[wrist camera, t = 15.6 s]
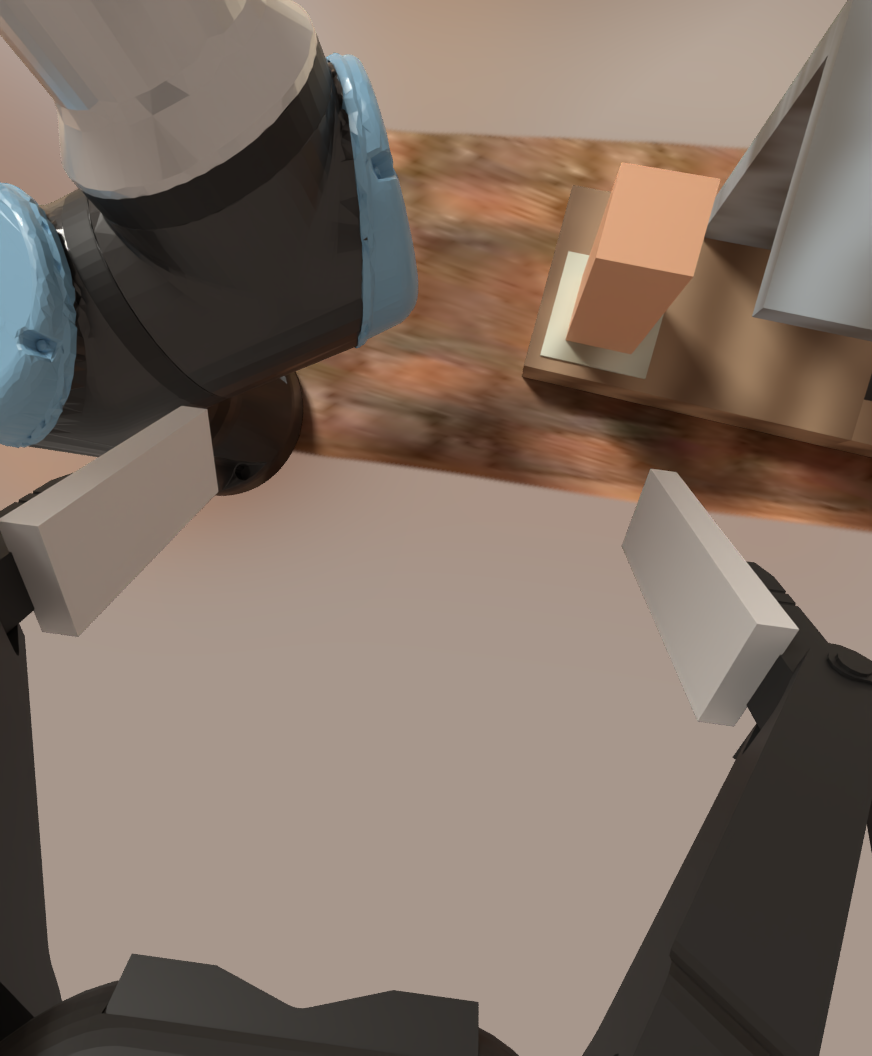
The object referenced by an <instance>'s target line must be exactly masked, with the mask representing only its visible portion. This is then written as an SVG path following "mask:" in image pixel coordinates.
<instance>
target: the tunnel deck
mask: <svg viewBox="0 0 872 1056" xmlns="http://www.w3.org/2000/svg"><path fill="white" fill-rule="evenodd" d="M610 194H611V192H609V191H603V190H598V189H592V188H587V187H581V186H576V185H573V186H572V190H571V194H570V197H569V201H568V205H567V208H566V212H565V216H564V219H563V223H562V227H561V231H560V234H559V238H558V242H557V245H556V249H555V253H554V256H553V260H552V264H551V267H550V271H549V275H548V278H547V282H546V286H545V289H544V293H543V297H542V301H541V304H540V308H539V312H538V315H537V319H536V323H535V326H534V330H533V334H532V337H531V341H530V345H529V348H528V352H527V356H526V360H525V363H524V368H523V374H522V377H526V378H530V379H535V380H539V381H543V382H548V383H552V384H556V385H561V386H565V387H569V388H574V389H578V390H582V391H586V392H591V393H595V394H599V395H604V396H608V397H612V398H617V399H621V400H625V401H630V402H634V403H638V404H643V405H647V406H651V407H656V408H660V409H664V410H669V411H673V412H677V413H682V414H686V415H690V416H694V417H699V418H703V419H707V420H712V421H716V422H720V423H725V424H729V425H733V426H738V427H742V428H746V429H751V430H755V431H759V432H764V433H768V434H772V435H777V436H781V437H785V438H790V439H794V440H798V441H802V442H807V443H811V444H815V445H820V446H824V447H828V448H833V449H837V450H841V451H846V452H850V453H854V454H859V455H863V456H867V457H872V0H847V2H846V4H845V5H844V7H843V8H842V9H841V11H840V13H839V14H838V15H837V17H836V18H835V20H834V22H833V23H832V24H831V26H830V27H829V29H828V31H827V32H826V33H825V35H824V36H823V38H822V39H821V41H820V42H819V44H818V45H817V47H816V48H815V50H814V51H813V53H812V54H811V56H810V57H809V59H808V60H807V62H806V63H805V65H804V66H803V68H802V69H801V71H800V72H799V74H798V75H797V77H796V78H795V80H794V81H793V83H792V84H791V85H790V87H789V89H788V90H787V92H786V93H785V94H784V96H783V97H782V99H781V101H780V102H779V104H778V105H777V106H776V108H775V109H774V111H773V112H772V114H771V115H770V117H769V118H768V120H767V121H766V123H765V124H764V126H763V127H762V129H761V130H760V132H759V133H758V135H757V136H756V138H755V139H754V141H753V142H752V144H751V145H750V147H749V148H748V150H747V151H746V153H745V154H744V156H743V157H742V159H741V160H740V162H739V163H738V165H737V166H736V167H735V169H734V170H733V172H732V173H731V175H730V176H729V178H728V179H727V181H726V182H725V184H724V185H723V187H722V188H721V190H720V191H719V193H718V194H717V196H716V197H715V200H714V204H713V208H712V211H711V215H710V218H709V222H708V226H707V229H706V233H705V236H704V240H703V244H702V247H701V251H700V254H699V258H698V261H697V265H696V269H695V272H694V276H693V278H692V279H691V280H690V281H689V283H688V284H687V285H686V286H685V288H684V289H683V290H682V291H681V293H680V294H679V295H678V296H677V298H676V299H675V300H674V301H673V303H672V304H671V305H670V306H669V308H668V309H667V310H666V311H665V313H664V314H663V315H662V317H661V318H660V319H659V320H658V322H657V323H656V324H655V325H654V327H653V328H652V329H651V330H650V332H649V333H648V334H647V335H646V337H645V338H644V339H643V340H642V342H641V343H640V344H639V345H638V347H637V348H636V349H635V350H634V352H633V353H632V354H627V353H622V352H618V351H613V350H608V349H604V348H599V347H594V346H590V345H585V344H580V343H576V342H571V341H566V340H565V339H566V335H567V332H568V328H569V324H570V320H571V317H572V313H573V309H574V306H575V302H576V298H577V294H578V291H579V287H580V283H581V280H582V276H583V273H584V270H585V267H586V264H587V261H588V258H589V255H590V252H591V249H592V247H593V244H594V241H595V238H596V235H597V232H598V229H599V226H600V223H601V220H602V217H603V214H604V212H605V209H606V206H607V203H608V200H609V197H610Z"/></svg>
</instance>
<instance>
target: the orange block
mask: <svg viewBox="0 0 872 1056" xmlns="http://www.w3.org/2000/svg"><path fill="white" fill-rule="evenodd" d="M719 182H720V179H717V178H711V177H706V176H700V175H694V174H688V173H682V172H676V171H671V170H665V169H659V168H653V167H647V166H641V165H635V164H630V163H624V162H621V165H620V168H619V171H618V174H617V177H616V179H615V182H614V185H613V188H612V191H611V194H610V197H609V200H608V203H607V206H606V209H605V212H604V214H603V217H602V220H601V223H600V226H599V229H598V232H597V235H596V238H595V241H594V244H593V247H592V249H591V252H590V255H589V258H588V261H587V264H586V267H585V270H584V273H583V276H582V280H581V283H580V287H579V291H578V294H577V298H576V302H575V306H574V309H573V313H572V317H571V320H570V324H569V328H568V332H567V335H566V339H565V340H566V341H571V342H576V343H580V344H585V345H590V346H594V347H599V348H604V349H608V350H613V351H618V352H622V353H627V354H632V353H633V352H634V350H635V349H636V348H637V347H638V345H639V344H640V343H641V342H642V340H643V339H644V338H645V337H646V335H647V334H648V333H649V332H650V330H651V329H652V328H653V327H654V325H655V324H656V323H657V322H658V320H659V319H660V318H661V317H662V315H663V314H664V313H665V311H666V310H667V309H668V308H669V306H670V305H671V304H672V303H673V301H674V300H675V299H676V298H677V296H678V295H679V294H680V293H681V291H682V290H683V289H684V288H685V286H686V285H687V284H688V283H689V281H690V280H691V279H692V278H693V276H694V272H695V269H696V265H697V261H698V258H699V254H700V251H701V247H702V244H703V240H704V236H705V233H706V229H707V226H708V222H709V218H710V215H711V211H712V208H713V204H714V200H715V197H716V193H717V190H718V186H719Z"/></svg>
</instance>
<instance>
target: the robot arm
mask: <svg viewBox="0 0 872 1056" xmlns="http://www.w3.org/2000/svg"><path fill="white" fill-rule="evenodd" d="M0 35H1V37H2V38H3V39H4V40H5V41H6V43H7V44H8V45H9V46H10V48H11V49H12V50H13V51H14V52H15V54H16V55H17V56H18V57H19V58H20V59H21V61H22V62H23V63H24V64H25V66H26V67H27V68H28V69H29V71H30V72H31V73H32V74H33V75H34V76H35V78H36V79H37V80H38V81H39V83H40V84H41V85H42V86H43V87H44V88H45V90H46V91H47V92H48V93H49V95H50V96H51V97H52V98H53V100H54V103H55V106H56V109H57V116H58V129H59V141H60V153H61V163H62V165H63V168H64V170H65V171H66V173H67V175H68V176H69V178H70V179H71V180H72V181H73V182H74V184H75V185H76V186H77V187H78V188H79V189H77V190H75V191H73V192H71V193H69V194H67V195H66V196H64V197H62V198H60V199H58V200H56V201H54V202H51V203H50V204H46V205H38V204H37V202H36V201H35V200H34V199H33V198H32V197H31V196H29V195H28V194H26V193H25V192H24V191H22V190H21V189H19V188H18V187H16V186H14V185H11V184H8V183H1V182H0V444H2V445H5V446H12V447H17V448H19V447H27V446H29V447H35V448H42V449H48V450H55V451H62V452H68V453H74V454H81V455H87V456H94V457H98V458H97V459H95V460H93V461H92V462H90V463H88V464H87V465H85V466H84V467H82V468H80V469H79V470H77V471H76V472H74V473H71V474H69V475H65V476H62V477H59V478H57V479H54V480H51V481H49V482H48V483H46V484H44V485H43V486H41V487H39V488H38V489H36V490H35V491H33V494H31V493H30V494H28V495H26V496H24V497H23V498H21V499H19V502H18V503H17V502H14V503H13V504H11V505H9V506H8V507H6V508H5V509H3V510H2V511H0V1056H519V1055H518V1054H516V1053H515V1052H514V1051H513V1050H512V1049H511V1048H510V1047H508V1046H507V1045H506V1044H504V1043H503V1042H501V1041H500V1040H499V1039H497V1038H496V1037H495V1036H493V1035H492V1034H490V1033H488V1032H486V1031H484V1030H482V1029H480V1028H479V1027H478V1002H474V1001H467V1000H459V999H452V998H445V997H437V996H431V995H424V994H417V993H409V992H402V991H395V990H393V991H387V992H382V993H378V994H373V995H368V996H363V997H359V998H353V999H349V1000H344V1001H339V1002H334V1003H329V1004H324V1005H319V1006H314V1007H309V1008H295V1007H292V1006H290V1005H287V1004H286V1003H284V1002H282V1001H280V1000H278V999H277V998H275V997H273V996H271V995H269V994H268V993H265V992H264V991H262V990H260V989H258V988H257V987H255V986H253V985H251V984H249V983H247V982H246V981H244V980H242V979H240V978H238V977H237V976H235V975H233V974H231V973H229V972H227V971H226V970H224V969H222V968H220V967H218V966H216V965H209V964H202V963H195V962H188V961H181V960H173V959H167V958H159V957H152V956H145V955H138V954H132V955H131V957H130V959H129V961H128V963H127V965H126V967H125V969H124V971H123V973H122V976H121V978H120V980H119V981H114V982H111V983H107V984H105V985H102V986H98V987H95V988H93V989H90V990H86V991H84V992H82V993H80V994H77V995H75V996H73V997H71V998H69V999H66V1000H64V1001H62V1000H61V995H60V990H59V987H58V984H57V981H56V977H55V974H54V971H53V968H52V965H51V960H50V955H49V949H48V940H47V926H46V913H45V899H44V886H43V873H42V859H41V846H40V833H39V820H38V806H37V793H36V780H35V768H34V754H33V740H32V728H31V714H30V701H29V688H28V675H27V662H26V649H25V636H24V634H23V631H22V629H21V627H20V625H19V622H21V621H22V620H23V619H24V618H25V617H26V616H27V615H29V614H30V613H31V612H32V611H34V613H35V615H36V618H37V620H38V623H39V625H40V627H41V630H42V632H46V633H53V634H61V635H69V636H76V637H79V636H80V635H81V634H82V632H83V631H84V630H85V629H86V628H87V627H88V626H89V625H90V624H91V623H92V622H93V621H94V620H95V619H96V618H97V617H98V616H99V615H100V614H101V613H102V612H103V611H104V610H105V609H106V608H107V606H108V605H110V603H111V602H112V601H113V600H114V599H115V598H116V597H117V596H118V595H119V594H120V593H121V592H122V591H123V590H124V589H125V588H126V587H127V586H128V585H129V584H130V583H131V582H132V581H133V580H134V579H135V577H137V576H138V574H139V573H140V572H141V571H142V570H143V569H144V568H145V567H146V566H147V565H148V564H149V563H150V562H151V561H152V560H153V559H154V558H155V557H156V556H157V555H158V553H160V552H161V551H162V550H163V549H164V548H165V546H166V545H167V544H168V543H169V542H170V541H171V540H172V539H173V538H174V537H175V536H176V535H177V534H178V533H179V532H180V531H181V530H182V529H183V528H184V527H185V526H186V525H187V524H188V523H189V522H190V520H192V518H193V517H194V516H195V515H196V514H197V513H198V512H199V511H200V510H201V509H202V508H203V507H204V506H205V505H206V504H207V503H208V502H209V501H210V500H211V499H212V498H213V497H214V496H215V495H218V496H226V495H234V494H239V493H243V492H246V491H249V490H252V489H254V488H256V487H258V486H260V485H261V484H263V483H265V482H266V481H267V480H269V479H270V478H271V477H272V476H274V475H275V474H276V473H277V472H278V471H279V470H280V469H281V467H282V466H283V465H284V464H285V462H286V461H287V460H288V458H289V456H290V455H291V453H292V451H293V449H294V447H295V445H296V443H297V440H298V437H299V434H300V430H301V425H302V417H303V401H302V393H301V389H300V385H299V382H298V379H297V376H296V374H295V371H297V370H300V369H302V368H305V367H307V366H310V365H312V364H314V363H317V362H319V361H322V360H324V359H327V358H329V357H331V356H334V355H336V354H339V353H341V352H344V351H346V350H348V349H351V348H353V347H355V348H359V347H360V346H361V345H364V344H365V343H366V341H367V339H369V338H371V337H373V336H375V335H377V334H379V333H381V332H383V331H385V330H387V329H389V328H392V327H394V326H396V325H398V324H400V323H401V322H403V321H404V320H405V319H406V318H407V317H408V316H409V314H410V312H411V311H412V310H413V309H414V307H415V304H416V301H417V297H418V274H417V266H416V259H415V253H414V247H413V242H412V237H411V232H410V227H409V222H408V217H407V213H406V208H405V203H404V199H403V195H402V191H401V187H400V183H399V179H398V177H397V175H396V172H395V171H394V169H393V159H392V155H391V152H390V148H389V143H388V138H387V133H386V129H385V126H384V122H383V119H382V116H381V112H380V109H379V106H378V103H377V99H376V96H375V94H374V91H373V88H372V85H371V82H370V80H369V78H368V75H367V73H366V71H365V69H364V67H363V65H362V63H361V61H360V60H359V59H358V58H356V57H355V56H353V55H344V56H341V55H340V54H337V53H333V54H332V55H329V56H327V57H326V58H325V56H324V53H323V50H322V48H321V45H320V42H319V40H318V37H317V34H316V32H315V28H314V26H313V23H312V21H311V19H310V17H309V15H308V13H307V12H306V11H305V10H304V9H303V8H302V6H301V5H299V4H297V3H296V2H294V1H292V0H0ZM622 548H623V550H624V553H625V555H626V557H627V559H628V562H629V564H630V566H631V569H632V571H633V574H634V576H635V578H636V580H637V583H638V585H639V587H640V590H641V592H642V594H643V596H644V599H645V601H646V604H647V606H648V608H649V610H650V613H651V615H652V617H653V619H654V622H655V624H656V627H657V629H658V631H659V633H660V636H661V638H662V640H663V643H664V645H665V647H666V650H667V652H668V654H669V656H670V659H671V661H672V663H673V666H674V668H675V670H676V673H677V675H678V677H679V680H680V682H681V684H682V686H683V689H684V691H685V693H686V696H687V698H688V700H689V702H690V705H691V707H692V709H693V712H694V714H695V716H696V718H697V721H698V722H705V723H713V724H719V725H727V726H735V724H736V723H737V721H738V720H739V719H740V717H741V716H742V714H743V713H744V711H745V710H746V708H747V707H748V709H749V710H750V712H751V714H752V716H753V718H754V719H755V721H756V723H757V724H756V725H755V726H754V728H753V729H752V731H751V732H750V734H749V735H748V736H747V738H746V739H745V741H744V742H743V743H742V745H741V746H740V748H739V749H738V750H737V752H736V753H735V755H734V756H733V758H734V759H736V760H735V762H734V764H733V766H732V768H731V770H730V772H729V774H728V776H727V778H726V780H725V782H724V784H723V786H722V788H721V790H720V792H719V794H718V796H717V798H716V800H715V802H714V804H713V806H712V807H711V810H710V811H709V814H708V815H707V817H706V819H705V821H704V823H703V825H702V827H701V829H700V831H699V833H698V835H697V837H696V839H695V841H694V843H693V845H692V847H691V849H690V851H689V853H688V855H687V857H686V859H685V860H684V863H683V864H682V866H681V868H680V870H679V872H678V874H677V876H676V878H675V880H674V882H673V884H672V886H671V888H670V890H669V892H668V894H667V896H666V898H665V900H664V902H663V904H662V906H661V908H660V909H659V912H658V913H657V915H656V917H655V919H654V921H653V924H652V925H651V927H650V929H649V931H648V933H647V935H646V937H645V939H644V941H643V943H642V945H641V947H640V949H639V951H638V953H637V955H636V957H635V959H634V961H633V963H632V965H631V966H630V968H629V970H628V972H627V974H626V976H625V978H624V980H623V982H622V984H621V986H620V988H619V990H618V992H617V994H616V996H615V998H614V1000H613V1002H612V1004H611V1006H610V1008H609V1010H608V1011H607V1013H606V1015H605V1017H604V1019H603V1021H602V1023H601V1025H600V1027H599V1029H598V1031H597V1032H596V1034H595V1036H594V1037H593V1039H592V1041H591V1042H590V1044H589V1046H588V1047H587V1049H586V1050H585V1052H584V1054H583V1055H582V1056H819V1053H820V1048H821V1043H822V1038H823V1034H824V1028H825V1023H826V1019H827V1014H828V1009H829V1004H830V1000H831V994H832V990H833V985H834V980H835V975H836V970H837V966H838V961H839V956H840V951H841V946H842V941H843V936H844V932H845V927H846V922H847V917H848V912H849V907H850V902H851V897H852V893H853V888H854V883H855V878H856V873H857V868H858V863H859V858H860V854H861V849H862V844H863V839H864V834H865V830H866V825H867V827H868V833H869V839H870V845H871V851H872V661H871V660H869V659H867V658H866V657H864V656H862V655H861V654H859V653H857V652H856V651H853V650H851V649H848V648H846V647H843V646H841V645H836V644H831V643H828V642H827V641H826V640H825V639H824V637H823V636H822V635H821V633H820V632H818V630H817V629H816V627H815V626H814V625H813V624H812V623H811V621H810V620H809V619H808V618H807V617H806V615H805V614H804V613H803V612H802V610H801V609H800V608H799V607H798V606H795V602H794V601H793V599H792V598H791V597H790V596H789V595H788V594H785V592H786V591H785V590H784V589H783V587H782V586H781V585H780V584H779V583H778V581H777V580H776V579H775V578H774V577H773V576H772V575H771V574H769V573H768V572H767V571H765V570H764V569H762V568H761V567H760V566H759V565H757V564H756V563H754V562H747V561H745V559H744V558H743V557H742V555H741V554H740V553H739V552H738V550H737V549H736V548H735V547H734V545H733V544H732V543H731V541H730V540H729V539H728V538H727V536H726V535H725V534H724V533H723V531H722V530H721V529H720V527H719V526H718V525H717V523H716V522H715V521H714V520H713V518H712V517H711V516H710V514H709V513H708V512H707V511H706V509H705V508H704V507H703V505H702V504H701V503H700V502H699V500H698V499H697V498H696V497H695V495H694V494H693V493H692V491H691V490H690V489H689V488H688V486H687V485H686V484H685V482H684V481H683V480H682V479H681V477H680V476H679V475H678V473H677V472H672V471H665V470H658V469H650V471H649V474H648V476H647V479H646V482H645V484H644V487H643V490H642V492H641V495H640V498H639V501H638V503H637V506H636V509H635V511H634V514H633V517H632V519H631V522H630V525H629V527H628V530H627V533H626V536H625V538H624V541H623V544H622Z"/></svg>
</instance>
